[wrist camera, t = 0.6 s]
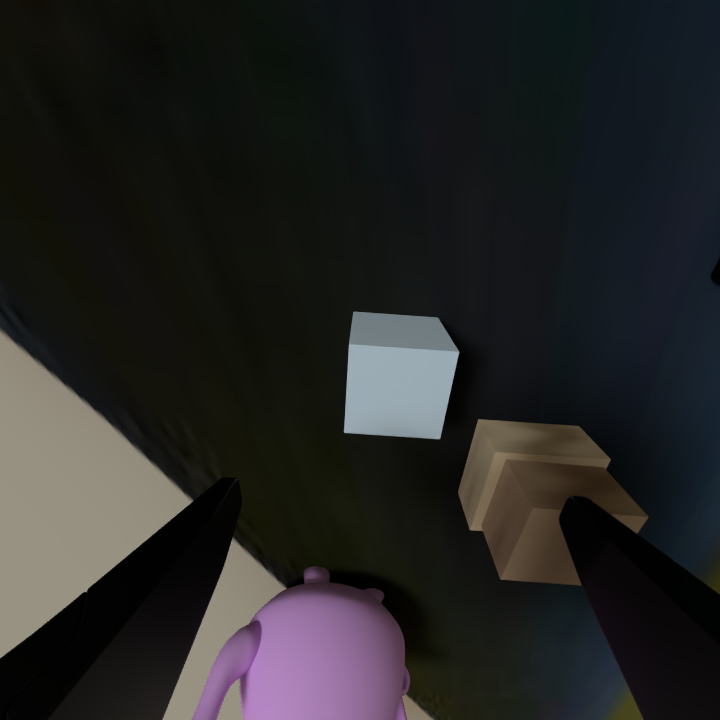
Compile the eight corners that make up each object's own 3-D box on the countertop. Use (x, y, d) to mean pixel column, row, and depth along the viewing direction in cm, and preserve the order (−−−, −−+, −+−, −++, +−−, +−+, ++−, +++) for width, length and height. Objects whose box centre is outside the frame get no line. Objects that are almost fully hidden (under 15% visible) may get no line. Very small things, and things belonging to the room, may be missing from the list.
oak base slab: (576, 423, 22) (610, 459, 19) (544, 495, 25) (569, 536, 22) (477, 417, 22) (495, 452, 19) (457, 489, 25) (469, 529, 22)
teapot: (200, 598, 32) (111, 809, 21) (257, 518, 27) (179, 743, 16) (367, 655, 37) (368, 855, 25) (446, 595, 31) (490, 815, 20)
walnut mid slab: (603, 466, 20) (648, 517, 16) (567, 532, 22) (600, 586, 19) (505, 458, 19) (533, 507, 16) (481, 525, 22) (500, 579, 19)
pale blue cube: (437, 317, 19) (459, 351, 15) (424, 389, 21) (439, 439, 17) (353, 311, 19) (349, 344, 15) (349, 384, 21) (344, 432, 17)
